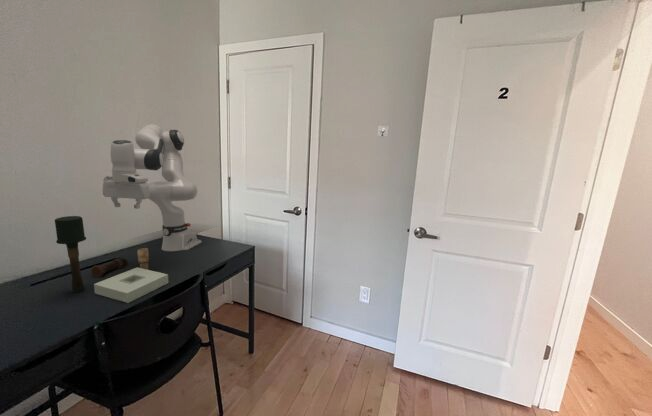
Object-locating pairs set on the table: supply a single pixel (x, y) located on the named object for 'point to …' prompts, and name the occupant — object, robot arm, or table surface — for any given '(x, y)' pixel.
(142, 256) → the peg
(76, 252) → the grenade
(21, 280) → the table surface
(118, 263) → the bolt
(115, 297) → the board
